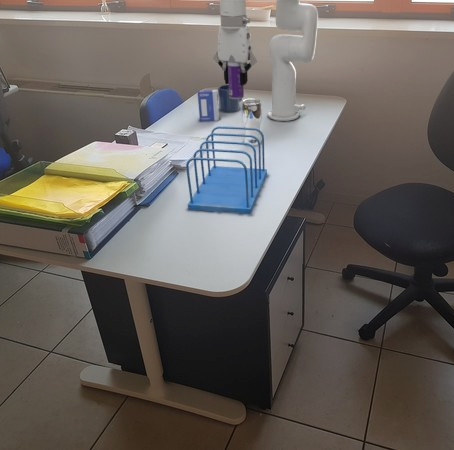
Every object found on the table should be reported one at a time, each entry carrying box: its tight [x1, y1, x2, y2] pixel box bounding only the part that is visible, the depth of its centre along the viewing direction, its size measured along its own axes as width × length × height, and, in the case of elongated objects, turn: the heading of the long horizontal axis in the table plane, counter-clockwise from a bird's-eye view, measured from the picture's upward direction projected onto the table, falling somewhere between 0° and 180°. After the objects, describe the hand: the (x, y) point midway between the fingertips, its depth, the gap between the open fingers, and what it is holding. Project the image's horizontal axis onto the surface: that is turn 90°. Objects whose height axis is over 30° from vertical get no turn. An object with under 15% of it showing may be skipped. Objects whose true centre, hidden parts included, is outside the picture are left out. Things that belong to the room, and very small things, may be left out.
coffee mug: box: [217, 84, 243, 114], centre depth 199 cm, size 12×9×10 cm
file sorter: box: [185, 126, 268, 215], centre depth 131 cm, size 25×17×15 cm
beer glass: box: [241, 98, 263, 147], centre depth 163 cm, size 7×7×15 cm
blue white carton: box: [197, 89, 220, 122], centre depth 185 cm, size 8×3×12 cm, turn 98°
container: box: [228, 55, 245, 99], centre depth 145 cm, size 5×5×15 cm
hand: (235, 83), depth 147 cm, fingers closed on container, 4 cm apart
